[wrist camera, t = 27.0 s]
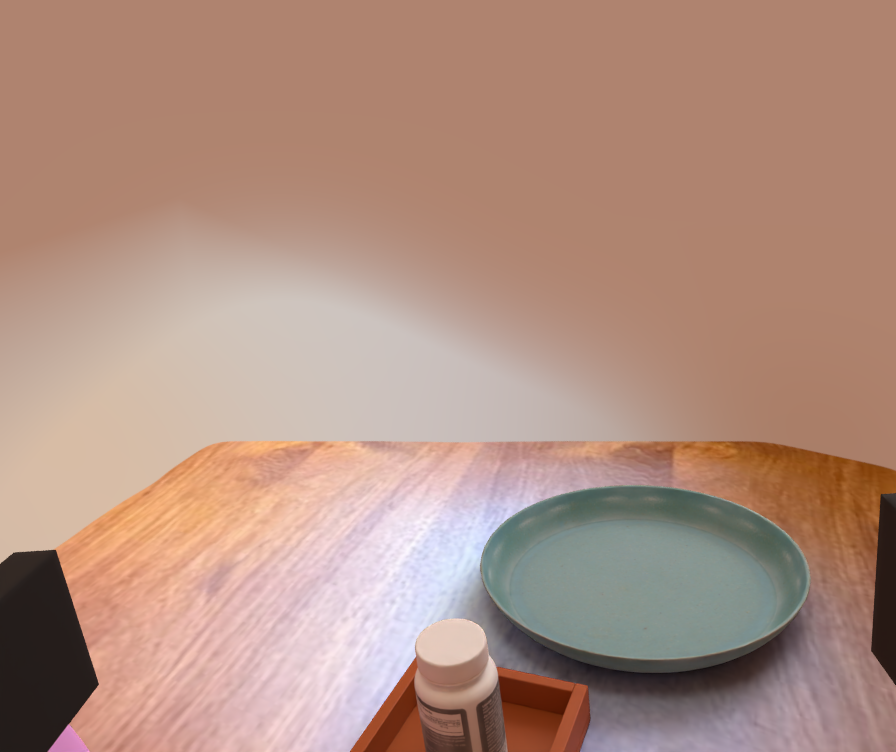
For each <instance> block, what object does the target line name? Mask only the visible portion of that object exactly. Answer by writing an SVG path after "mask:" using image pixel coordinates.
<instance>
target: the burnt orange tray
mask: <svg viewBox="0 0 896 752" xmlns="http://www.w3.org/2000/svg"><path fill="white" fill-rule="evenodd" d="M417 668H418V666H417V659H416V658H415V659H414V660H413V662H412V663H411V665H410V666H409V668H408V669H407V670H406V672H405V673H404V675H403V676H402V678H401V679H400V681H399V682H398V683H397V685H396V686H395V688H394V689H393V691H392V692H391V693H390V695H389V696H388V698H387V699H386V701H385V702H384V704H383V705H382V706H381V708H380V709H379V711H378V712H377V714H376V715H375V716H374V718H373V719H372V721H371V722H370V724H369V725H368V726H367V728H366V729H365V731H364V732H363V734H362V735H361V737H360V738H359V739H358V741H357V742H356V744H355V745H354V747H353V748H352V749H351V751H350V752H426V750H425V744H424V738H423V733H422V726H421V721H420V715H419V710H418V704H417V698H416V692H415V686H414V679H415V674H416V671H417ZM496 668H497V672H498V678H499V685H500V695H501V703H502V710H503V717H504V725H505V733H506V740H507V750H508V752H580V749H581V746H582V743H583V740H584V737H585V734H586V731H587V728H588V725H589V722H590V706H589V693H588V686H587V685H582V684H578V683H576V684H575V683H573V682H568V681H563V680H558V679H553V678H549V677H544V676H539V675H534V674H529V673H525V672H520V671H515V670H510V669H505V668H501V667H496Z"/></svg>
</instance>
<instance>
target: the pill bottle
mask: <svg viewBox="0 0 896 752" xmlns="http://www.w3.org/2000/svg"><path fill="white" fill-rule="evenodd" d="M415 651H416V659H417V666H418V668H417V671H416V674H415V679H414V686H415V692H416V698H417V704H418V710H419V715H420V721H421V726H422V733H423V738H424V744H425V750H426V752H508V750H507V740H506V733H505V725H504V717H503V710H502V703H501V695H500V685H499V678H498V672H497V668H496V665H495V663H494V661H493V660H492V658H491V657H490V656H489V652H488V646H487V639H486V635H485V632H484V631H483V629H482V628H481V627H480V626H479V625H478V624H476V623H474V622H472V621H469V620H466V619H446V620H442V621H438V622H436V623H434V624H432V625H430V626H429V627H427V628H426V629H424V630H423V631H422V632H421V633H420V635H419V636H418V638H417V640H416V644H415Z"/></svg>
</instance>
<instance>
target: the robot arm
mask: <svg viewBox="0 0 896 752" xmlns="http://www.w3.org/2000/svg"><path fill="white" fill-rule="evenodd" d="M871 651H872V652H873V654H874V655H875V657H876V658H877V660H878V661H879V662H880V664H881V665H882V667H883V668H884V669H885V671H886V672H887V674H888V675H889V677H890V678H891V679H892V681H893V682H894V684H895V685H896V493H893V494H881V500H880V517H879V533H878V549H877V565H876V581H875V598H874V614H873V630H872V646H871ZM98 685H99V683H98V680H97V677H96V674H95V671H94V668H93V664H92V661H91V658H90V655H89V652H88V649H87V646H86V643H85V639H84V636H83V633H82V630H81V627H80V624H79V621H78V618H77V615H76V611H75V608H74V605H73V602H72V599H71V596H70V593H69V590H68V587H67V583H66V580H65V577H64V574H63V571H62V568H61V565H60V562H59V558H58V555H57V552H56V550H48V551H47V550H46V551H31V552H16V553H13V554H12V555H10V556H9V557H8V558H7V559H6V560H4V561H3V562H2V563H1V564H0V752H48V751H49V749H50V748H51V747H52V745H53V744H54V743H55V741H56V740H57V739H58V737H59V736H60V735H61V734H62V732H63V731H64V730H65V728H66V727H67V726H68V724H69V723H70V722H71V720H72V719H73V718H74V716H75V715H76V714H77V713H78V711H79V710H80V709H81V707H82V706H83V705H84V703H85V702H86V701H87V699H88V698H89V697H90V695H91V694H92V693H93V691H94V690H95V689H96V688H97V686H98Z"/></svg>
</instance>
